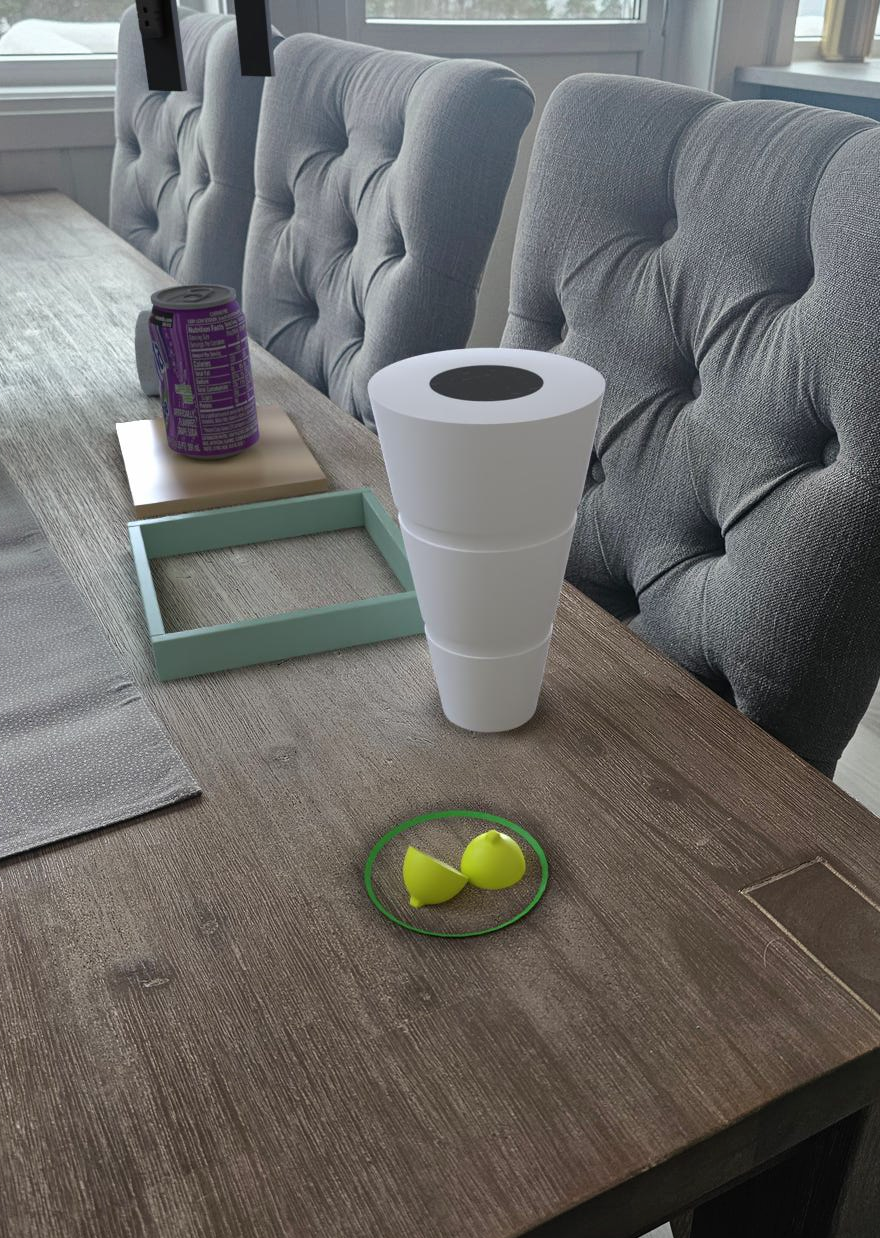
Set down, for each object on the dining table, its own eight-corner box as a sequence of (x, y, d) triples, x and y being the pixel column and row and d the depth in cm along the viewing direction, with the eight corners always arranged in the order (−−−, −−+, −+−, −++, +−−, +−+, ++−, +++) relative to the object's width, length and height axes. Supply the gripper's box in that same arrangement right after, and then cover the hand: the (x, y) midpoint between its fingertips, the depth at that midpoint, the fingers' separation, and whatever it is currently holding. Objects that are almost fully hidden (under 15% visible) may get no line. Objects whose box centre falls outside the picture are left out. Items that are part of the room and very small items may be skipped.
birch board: (328, 496, 85) (327, 478, 84) (138, 525, 81) (134, 505, 80) (282, 419, 99) (280, 403, 98) (118, 440, 95) (115, 423, 94)
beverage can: (192, 430, 93) (169, 280, 86) (273, 435, 91) (256, 284, 85) (154, 462, 87) (126, 304, 80) (240, 468, 85) (219, 308, 79)
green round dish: (465, 978, 44) (463, 926, 43) (326, 887, 49) (321, 838, 47) (584, 871, 50) (587, 822, 48) (449, 798, 54) (448, 751, 52)
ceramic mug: (232, 405, 102) (221, 319, 98) (141, 407, 102) (126, 321, 98) (247, 371, 111) (237, 291, 107) (163, 373, 111) (150, 293, 107)
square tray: (160, 689, 62) (151, 643, 61) (134, 562, 76) (126, 522, 74) (444, 635, 67) (443, 591, 65) (372, 525, 80) (369, 486, 79)
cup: (365, 684, 63) (339, 364, 53) (539, 645, 66) (544, 337, 56) (429, 794, 54) (412, 438, 45) (625, 744, 58) (649, 402, 48)
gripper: (116, -319, 64) (171, 99, 75) (310, -251, 84) (330, 72, 95) (6, -311, 66) (75, 96, 77) (221, -246, 86) (250, 69, 97)
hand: (216, 83), depth 86 cm, fingers open, 13 cm apart
